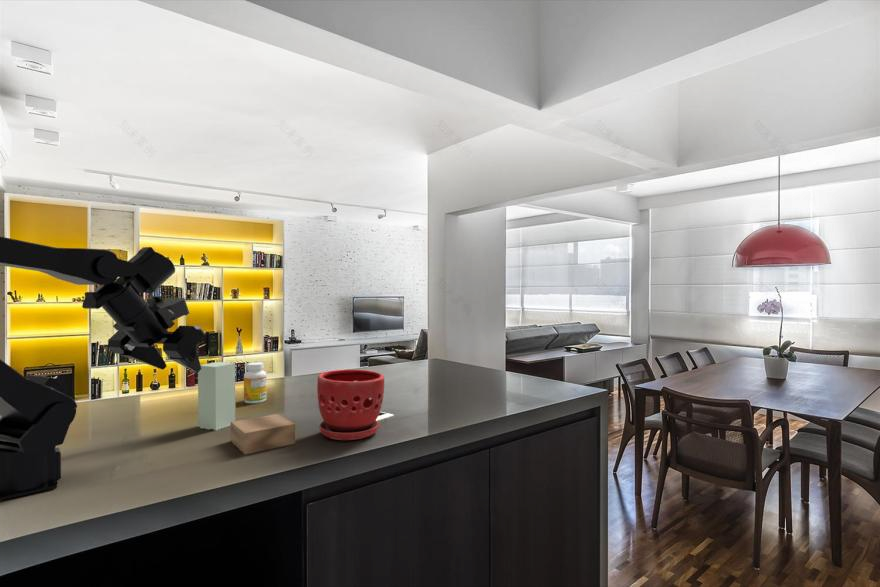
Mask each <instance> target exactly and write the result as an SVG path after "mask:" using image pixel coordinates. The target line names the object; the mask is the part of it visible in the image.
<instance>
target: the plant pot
mask: <svg viewBox="0 0 880 587" xmlns="http://www.w3.org/2000/svg"><path fill="white" fill-rule="evenodd" d="M316 389H317V401H318V409H319V413H320V415H321V419H322V420H323V421H322V422H321V423H319V427H318V428H319V431H320V432H321V434H322V435H323V436H325V437H326V438H330V439H332V440H336V441H338V440H339V441H355V440H361V439H365V438H367V437H368V438H369V437H370V436H372V435H373V434H375V433H376V431H377V430H378V429H379V427H380V426H379V421H376V419H377V417H378V415H379V412H381V409H382V405H383V401H384V400H383V399H384V393H385V375H384V374H382V372H381V373H380V372H377V371H374V370H365V369H336V370H329V371H328V370H327V371H324V372H321V373H320V374H319V375H318V376H317V386H316Z"/></svg>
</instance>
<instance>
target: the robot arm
mask: <svg viewBox="0 0 880 587" xmlns="http://www.w3.org/2000/svg"><path fill="white" fill-rule="evenodd" d="M0 266H2V267H9V268H15V269H22V270H26V271H27V270H29V271H34V272H40V273H43V274H46V275H48V276H51V277H53V278H55V279H58V280H61V281H64V282H67V283H71V284H74V285H78V286H79V285H80V286H83V285H85V286H86V285H87V286H88V285H91V286H92V285H93V286H95V285H96V286H97V285H98V286H99V285H100V287H99V288H97V289H96V290H95V291H86V292H84V299H83V301H82V305H81V307H82V308H83V309H86V310H88V309H89V310H98V309H101V308H102V309H103V310H104V311H105V312H106V313H107V315H109V316H110V318H111V319H112V321H114V322H115V323H114V324H113V325H112V327H113V328H114V330H115V331H116V332H115V333H114V334H113V335H112V336H110V338H109V339H108V340H107V348H109V350H110V351H111V352H112V353H113V354H116V355H117V354H118V355H120V356H121V357H126V358H129V359H132V360H134V361H137V362H140V363H143V364H146V365H149V366H151V367H153V368H157V369H160V370H162V371H163V370H165V369H166V368H167V364H166V362H165V360H164V358H163V357H162V355H161V353H159V351H158V350H157V349H156V347H155V344H160V345H162V351H163V352H164V353H165V355H166V356H168V357H169V359H170V360H171V361H173V362H175V363H177V364H179V365H180V366H182V367H184V368H186V369H188V370H190V371H193V372H195V373H197V374H198V372H199V371H200V370H201V365H202V364H201V363H200V359H199V355H198V350H197V349H198V347H197V346H198V344H199V343H200V342H201V341H202V340H203V339H204V337H205V336H206V333H205V331H204V330H203V329H202V327H201V326H200V325H179V326H178V327H176V329H175V330H174V331H168V330H169V329H172V328H173V327H174V326H175V325H176V323H175V322H174V321H175V320H177V319H179V318H181V317H184V316H188V315H190V311H189V308H188V305H187V301H186V298H185V297H168V298H162V297H161V296H156V295H155V296H151V297H148V298H146V299H145V298H144V297H143V296H142V294H150V295H151V294H154V292H155V291H156V290H158V289H159V288H160V287H161V286H162V285H163V284H164V283H165V282H166V281H168V279H170V278H171V277H172V276H173V275H174V274H175V273H176V267H175V265H174V263H173V262H172V260H170V259H168V258H167V257H166V256H165V255H163V254H162V253H159V252H158V251H156V250H155V249H154V248H153V247H151V246H146V247H142V248H140V249H139V250H138V251H137V252H136V254H135V255H134V256H132V257H131V258H130V259H128V260H124V259H120V258H118V256H117V254H116V253H115V252H114V251H111V250H108V249H104V248H103V249H100V248H83V247H82V248H77V247H75V248H73V247H56V246H55V247H54V246H52V245H44V244H40V243H34V242H30V241H24V240H19V239H16V238H15V239H14V238H11V237H10V238H9V237H4V236H0ZM74 394H75V392H73V391H69V390H67V389H65V388H63V386H62V385H61V384H60V383H59V382H58V381H57V379H55V378H54V377H52V376H51V377H50V376H42V375H32V374H27V375H26V376H24V375H23V374H21V373H20V372H18V371H17V370H16V369H14V368H13V367H11V366H10V365H9V364H8V363H6V362H5V361H4V360H2V359H1V358H0V501H3V500H8V499H14V498H17V497H22V496H26V495H30V494H31V495H32V494H34V493H40V492H44V491H48V490H49V491H50V490H53V489H56V488H57V487H58V481H60V480H61V478H62V453H61V449H60V448H59V447H57V446H60V445H63V444H64V442H65V440H66V436H67V434H68V430H69V428H70V425H72V423H73V422H74V420H75V417H76V415H77V408H78V403H77V402H76V401H75V400H74V398H73V397H72V396H73V395H74Z"/></svg>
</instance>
